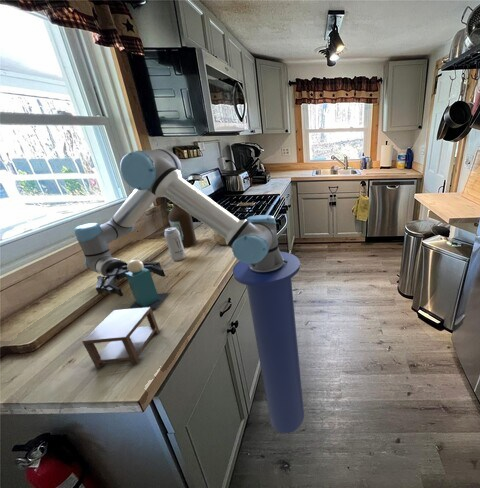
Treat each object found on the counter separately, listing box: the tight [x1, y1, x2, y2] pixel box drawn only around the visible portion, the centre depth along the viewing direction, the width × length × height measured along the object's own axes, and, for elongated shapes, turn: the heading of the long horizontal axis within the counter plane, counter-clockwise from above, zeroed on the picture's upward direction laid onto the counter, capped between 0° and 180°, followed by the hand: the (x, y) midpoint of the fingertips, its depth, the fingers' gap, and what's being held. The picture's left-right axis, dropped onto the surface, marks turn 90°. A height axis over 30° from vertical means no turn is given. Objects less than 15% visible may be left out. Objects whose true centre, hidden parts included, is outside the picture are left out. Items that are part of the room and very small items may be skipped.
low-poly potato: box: [212, 230, 226, 246], centre depth 139 cm, size 15×11×12 cm
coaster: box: [128, 292, 169, 311], centre depth 91 cm, size 9×9×1 cm
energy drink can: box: [163, 226, 186, 262], centre depth 121 cm, size 6×6×15 cm
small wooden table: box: [82, 307, 160, 369], centre depth 70 cm, size 10×12×9 cm
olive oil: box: [167, 201, 197, 248], centre depth 135 cm, size 11×11×25 cm
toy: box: [125, 259, 159, 307], centre depth 88 cm, size 5×5×16 cm
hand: (143, 282), depth 87 cm, fingers open, 13 cm apart
